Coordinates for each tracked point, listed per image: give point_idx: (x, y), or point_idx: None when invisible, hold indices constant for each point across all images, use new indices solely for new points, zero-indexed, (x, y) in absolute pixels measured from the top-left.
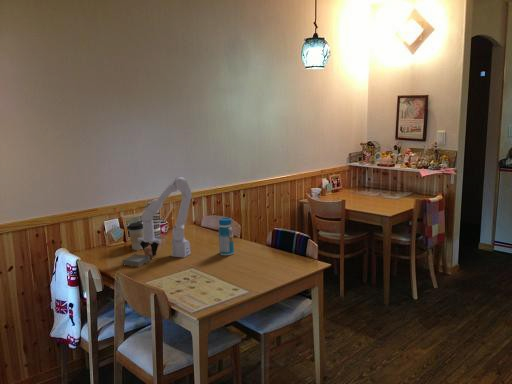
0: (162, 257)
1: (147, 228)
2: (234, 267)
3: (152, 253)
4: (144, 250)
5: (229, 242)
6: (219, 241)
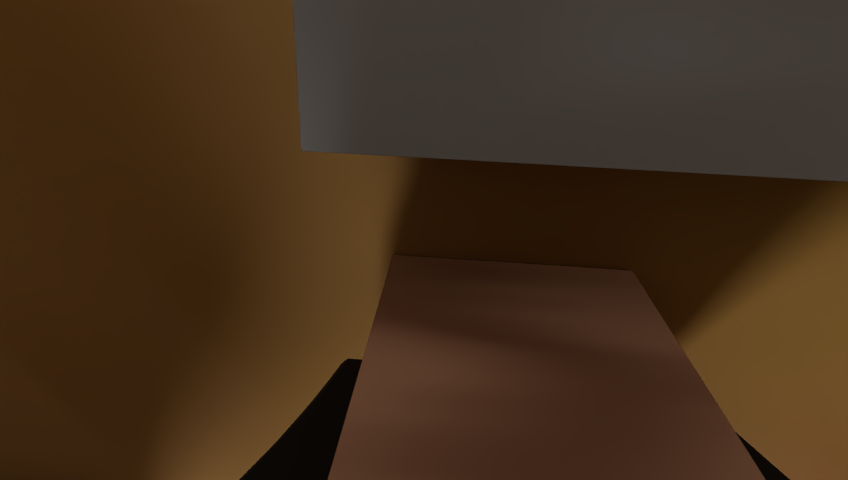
0: (222, 419)
1: None
2: None
3: None
4: (758, 473)
5: None
6: None
